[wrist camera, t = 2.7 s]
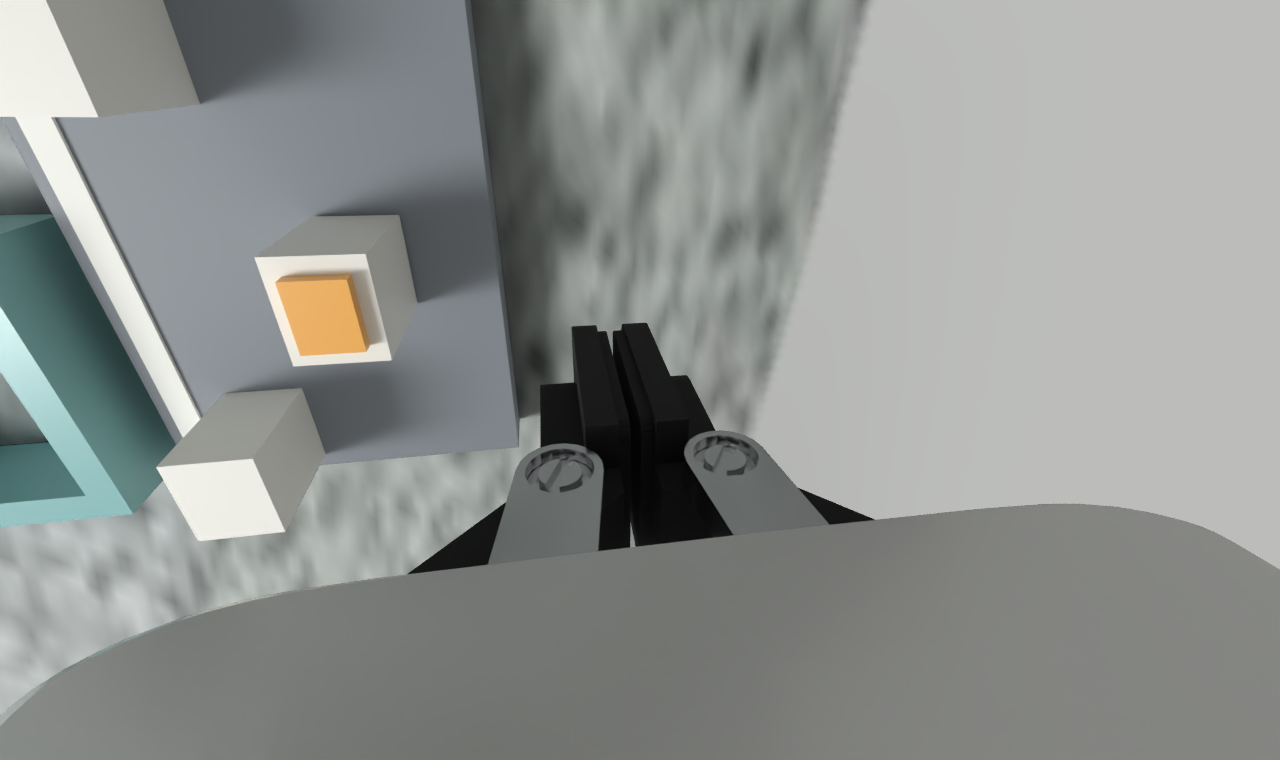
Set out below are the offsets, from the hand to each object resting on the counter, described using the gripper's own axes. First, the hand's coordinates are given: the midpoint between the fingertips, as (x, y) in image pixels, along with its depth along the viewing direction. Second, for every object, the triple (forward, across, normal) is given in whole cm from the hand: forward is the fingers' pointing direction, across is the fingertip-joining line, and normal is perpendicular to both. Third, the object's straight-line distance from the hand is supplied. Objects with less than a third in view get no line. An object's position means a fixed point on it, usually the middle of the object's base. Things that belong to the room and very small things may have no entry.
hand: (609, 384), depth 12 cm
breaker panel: (+10, +9, -1) cm, 13 cm away
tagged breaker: (+7, +7, -1) cm, 10 cm away
